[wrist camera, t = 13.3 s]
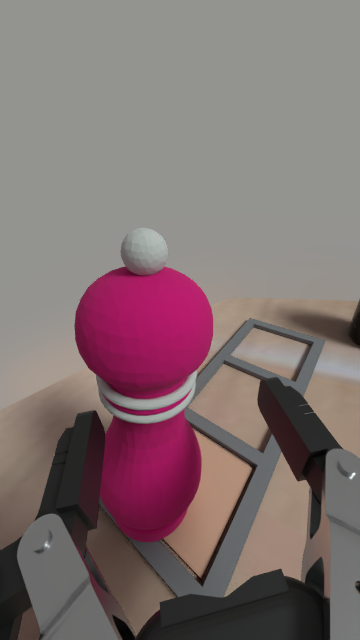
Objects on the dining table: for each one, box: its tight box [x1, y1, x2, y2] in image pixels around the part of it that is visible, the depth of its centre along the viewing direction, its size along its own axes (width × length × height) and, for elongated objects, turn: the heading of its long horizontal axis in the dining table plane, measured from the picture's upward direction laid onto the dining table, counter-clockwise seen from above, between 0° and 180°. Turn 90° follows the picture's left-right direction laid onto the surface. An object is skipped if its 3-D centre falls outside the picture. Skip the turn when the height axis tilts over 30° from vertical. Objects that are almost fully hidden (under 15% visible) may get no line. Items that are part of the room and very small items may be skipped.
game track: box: [99, 318, 325, 598], centre depth 26 cm, size 31×11×1 cm, turn 142°
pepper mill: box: [75, 228, 213, 542], centre depth 14 cm, size 7×7×20 cm
